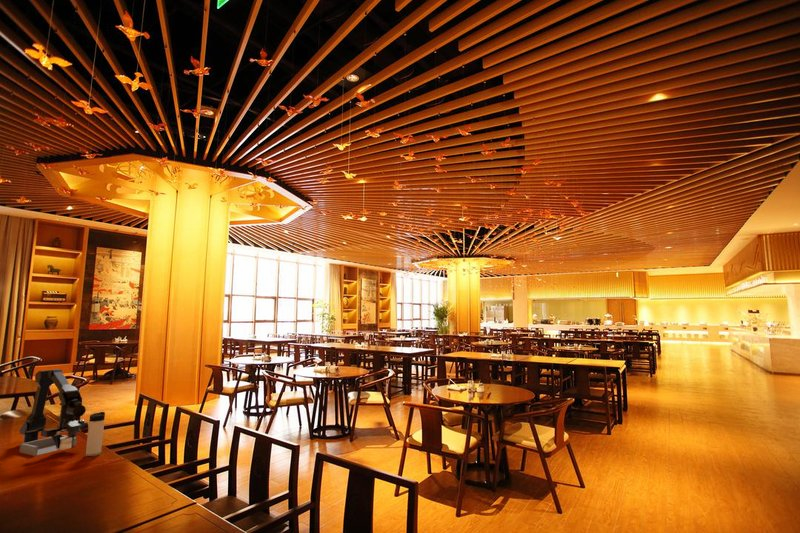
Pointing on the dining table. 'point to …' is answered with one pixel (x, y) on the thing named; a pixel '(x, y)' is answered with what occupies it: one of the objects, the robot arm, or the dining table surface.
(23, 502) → the dining table surface
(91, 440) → the travel mug
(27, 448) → the slate box
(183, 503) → the dining table surface
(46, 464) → the dining table surface
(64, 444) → the birch block
